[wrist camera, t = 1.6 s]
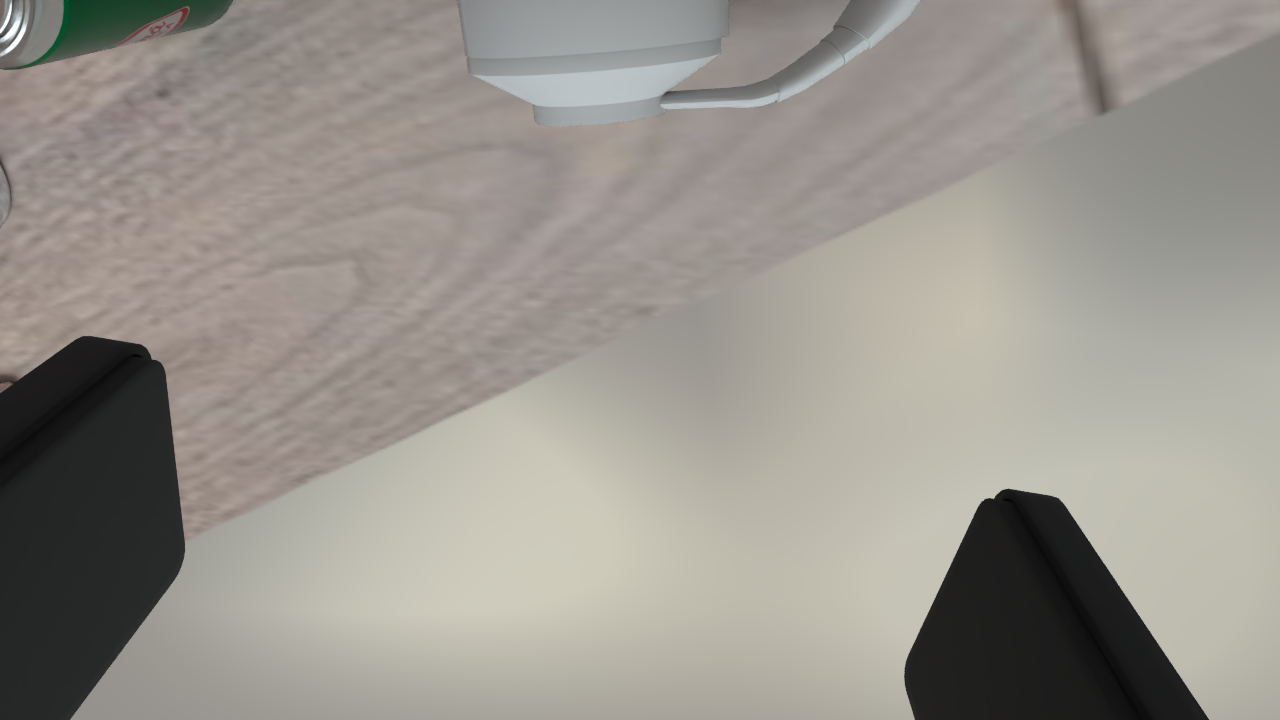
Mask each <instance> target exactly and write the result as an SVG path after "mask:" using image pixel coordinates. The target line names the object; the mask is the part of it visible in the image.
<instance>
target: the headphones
mask: <svg viewBox="0 0 1280 720" xmlns="http://www.w3.org/2000/svg"><path fill="white" fill-rule="evenodd" d="M457 1H458V8H459V14H460V21H461V27H462V34H463V41H464V47H465V54H466V56H467V65H468V71H469V73H470V74H472V75H473V76H476V77H478V78H480V79H482V80H484V81H486V82H488V83H490V84H492V85H494V86H496V87H498V88H500V89H503V90H505V91H507V92H509V93H511V94H513V95H515V96H517V97H519V98H521V99H523V100H525V101H527V102H530V103H532V104H533V110H534V118H535V122H536V123H537V124H540V125H546V126H586V125H601V124H611V123H620V122H628V121H634V120H640V119H646V118H650V117H655V116H658V115H661V114H663V113H665V112H666V109H686V108H714V107H740V108H750V107H757V106H763V105H767V104H769V103H772V102H777V103H778V102H780V101H782V100H784V99H786V98H788V97H790V96H792V95H794V94H797V93H799V92H801V91H803V90H805V89H806V88H808V87H810V86H811V85H813V84H814V83H816V82H817V81H819V80H821V79H822V78H824V77H825V76H827V75H828V74H830V73H832V72H833V71H835V70H836V69H838V68H839V67H841V66H843V65H844V64H846V63H847V62H849V61H850V60H851V59H853V58H854V57H856V56H857V55H858V54H860V53H861V52H862V51H864V50H865V49H870V48H872V47H873V46H874V45H875V44H877V43H878V42H879V41H880V40H882V39H883V38H884V37H885V36H886V35H888V34H889V33H890V32H891V31H892V30H894V29H895V28H896V27H897V26H898V25H900V24H901V23H902V22H903V21H904V20H906V19H907V18H908V17H909V16H910V15H911V13H912V12H913V10H914V9H915V8H916V6H917V5H918V3H919V2H920V1H921V0H851V1H850V2H849V4H848V5H847V7H846V8H845V10H844V11H843V13H842V14H841V16H840V17H839V19H838V20H837V22H836V23H835V25H834V27H833V29H834V30H833V31H832V32H831V33H830V34H828V35H827V36H826V37H825V38H824V39H822V40H821V41H820V43H819V44H818V45H817V46H815V47H814V48H813V49H811V50H810V51H808V52H807V53H806V54H804V55H803V56H802V57H800V58H799V59H798V60H796V61H795V62H793V63H792V64H791V65H789V66H788V67H787V68H785V69H783V70H782V71H780V72H778V73H777V74H775V75H773V76H772V77H770V78H769V79H766V80H763V81H760V82H757V83H754V84H750V85H747V86H742V87H731V88H718V89H702V90H686V91H670V92H668V91H669V90H670V89H672V88H673V87H675V86H676V85H677V84H679V83H680V82H682V81H683V80H684V79H686V78H687V77H689V76H690V75H691V74H693V73H694V72H696V71H697V70H698V69H700V68H701V67H703V66H704V65H705V64H707V63H708V62H710V61H711V60H712V59H714V58H715V57H717V56H718V55H719V54H721V38H722V37H726V36H729V4H728V0H457Z"/></svg>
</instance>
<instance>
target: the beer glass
mask: <svg viewBox="0 0 1280 720" xmlns="http://www.w3.org/2000/svg"><path fill="white" fill-rule="evenodd" d="M10 202H11V197H10V189H9V185H8V181H7V178H6V175H5V173H4V171H3V169H2V167H1V165H0V227H1V226H2V225H3V224H4V222H5V220H6V219H7V216H8V214H9V210H10Z"/></svg>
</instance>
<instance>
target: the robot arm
mask: <svg viewBox="0 0 1280 720" xmlns="http://www.w3.org/2000/svg"><path fill="white" fill-rule="evenodd" d="M184 553H185V541H184V532H183V523H182V514H181V506H180V497H179V488H178V479H177V470H176V462H175V453H174V444H173V435H172V426H171V418H170V409H169V400H168V391H167V382H166V374H165V370H164V367H163V365H162V364H161V363H160V362H159V361H157V360H152V359H151V355H150V353H149V352H148V350H147V348H145V347H144V346H142V345H141V344H135V343H129V342H123V341H117V340H111V339H105V338H99V337H93V336H83V337H80V338H78V339H76V340H74V341H73V342H72V343H70V344H69V345H67V346H66V347H65V348H63V349H62V350H60V351H59V352H58V353H56V354H55V355H53V356H52V357H50V358H49V359H48V360H46V361H45V362H43V363H42V364H41V365H39V366H38V367H36V368H35V369H34V370H32V371H31V372H29V373H28V374H27V375H25V376H24V377H22V378H21V379H19V380H18V381H17V382H15V383H14V384H12V385H11V386H10V387H8V388H7V389H5V390H4V391H3V392H1V393H0V720H70V719H71V718H72V716H73V715H74V713H75V712H76V711H77V710H78V708H79V707H80V706H81V704H82V703H83V701H84V700H85V699H86V698H87V696H88V695H89V693H90V692H91V691H92V689H93V688H94V687H95V686H96V684H97V683H98V681H99V680H100V679H101V678H102V676H103V675H104V674H105V672H106V671H107V669H108V668H109V667H110V665H111V664H112V662H113V661H114V660H115V659H116V657H117V656H118V654H119V653H120V652H121V651H122V649H123V648H124V647H125V645H126V644H127V643H128V641H129V640H130V639H131V637H132V636H133V635H134V633H135V632H136V631H137V629H138V628H139V626H140V625H141V624H142V623H143V621H144V620H145V619H146V617H147V616H148V615H149V613H150V612H151V611H152V609H153V608H154V607H155V605H156V604H157V603H158V601H159V600H160V598H161V597H162V596H163V594H164V593H165V592H166V591H167V589H168V588H169V586H170V585H171V584H172V583H173V581H174V580H175V578H176V577H177V575H178V573H179V571H180V568H181V566H182V563H183V559H184ZM904 678H905V686H906V691H907V695H908V698H909V701H910V704H911V707H912V711H913V714H914V717H915V720H1209V719H1208V717H1207V716H1206V715H1205V713H1204V711H1203V710H1202V709H1201V707H1200V706H1199V704H1198V703H1197V701H1196V700H1195V698H1194V697H1193V695H1192V694H1191V692H1190V691H1189V689H1188V688H1187V686H1186V685H1185V683H1184V682H1183V680H1182V679H1181V677H1180V676H1179V674H1178V673H1177V672H1176V670H1175V669H1174V667H1173V665H1172V664H1171V662H1170V661H1169V659H1168V658H1167V657H1166V655H1165V654H1164V652H1163V651H1162V649H1161V648H1160V646H1159V645H1158V643H1157V642H1156V640H1155V639H1154V637H1153V636H1152V634H1151V633H1150V631H1149V630H1148V628H1147V627H1146V625H1145V624H1144V622H1143V621H1142V620H1141V618H1140V616H1139V615H1138V613H1137V612H1136V610H1135V609H1134V608H1133V606H1132V604H1131V603H1130V602H1129V600H1128V599H1127V597H1126V596H1125V594H1124V593H1123V591H1122V590H1121V588H1120V587H1119V586H1118V584H1117V582H1116V581H1115V579H1114V578H1113V576H1112V575H1111V574H1110V572H1109V570H1108V569H1107V567H1106V566H1105V564H1104V563H1103V561H1102V560H1101V559H1100V557H1099V556H1098V554H1097V553H1096V551H1095V550H1094V548H1093V547H1092V545H1091V544H1090V542H1089V541H1088V539H1087V538H1086V536H1085V535H1084V533H1083V532H1082V530H1081V529H1080V527H1079V526H1078V524H1077V523H1076V521H1075V520H1074V518H1073V517H1072V516H1071V514H1070V513H1069V511H1068V509H1067V508H1066V506H1065V505H1064V504H1063V503H1062V502H1061V501H1060V500H1059V498H1056V497H1053V496H1048V495H1042V494H1037V493H1030V492H1024V491H1018V490H1012V489H1005V490H1002V491H1001V492H1000V493H998V494H997V495H996V496H995V498H994V499H991V498H988V499H985V500H984V501H982V502H981V504H980V505H979V507H978V508H977V511H976V513H975V515H974V517H973V519H972V521H971V523H970V525H969V528H968V530H967V532H966V534H965V536H964V538H963V540H962V543H961V544H960V547H959V549H958V551H957V553H956V555H955V557H954V559H953V562H952V564H951V566H950V568H949V570H948V572H947V574H946V577H945V578H944V581H943V583H942V585H941V587H940V589H939V591H938V593H937V596H936V598H935V600H934V602H933V604H932V606H931V608H930V610H929V613H928V615H927V617H926V619H925V621H924V623H923V625H922V628H921V629H920V632H919V634H918V636H917V638H916V640H915V642H914V644H913V647H912V649H911V651H910V653H909V655H908V658H907V661H906V665H905V675H904Z"/></svg>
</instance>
